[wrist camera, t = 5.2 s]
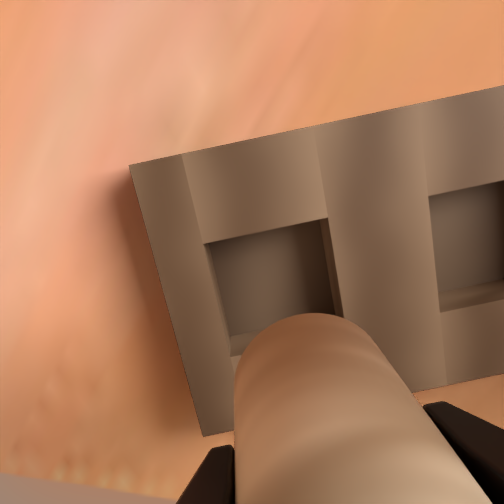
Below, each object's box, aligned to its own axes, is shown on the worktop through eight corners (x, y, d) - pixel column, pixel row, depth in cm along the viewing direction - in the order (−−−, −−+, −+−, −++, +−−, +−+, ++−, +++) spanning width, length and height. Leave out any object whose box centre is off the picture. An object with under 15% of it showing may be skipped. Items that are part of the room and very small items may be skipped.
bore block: (553, 75, 18) (604, 64, 15) (559, 328, 21) (603, 352, 18) (142, 163, 18) (128, 165, 16) (206, 403, 21) (203, 436, 18)
